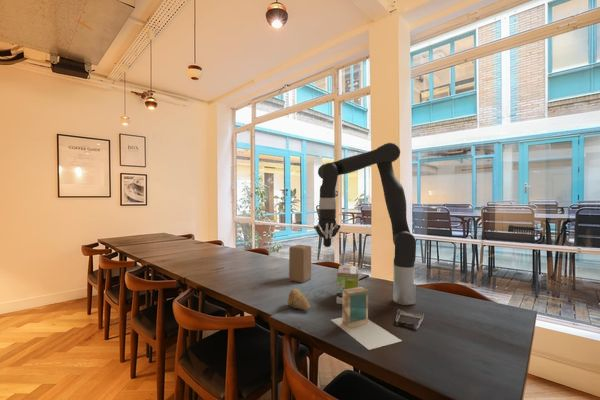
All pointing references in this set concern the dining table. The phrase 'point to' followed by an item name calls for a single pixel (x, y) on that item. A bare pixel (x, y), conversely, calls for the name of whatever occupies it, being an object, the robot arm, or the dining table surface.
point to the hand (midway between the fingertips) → (327, 246)
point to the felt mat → (369, 334)
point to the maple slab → (354, 307)
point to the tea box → (346, 280)
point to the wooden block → (300, 263)
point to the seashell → (298, 300)
